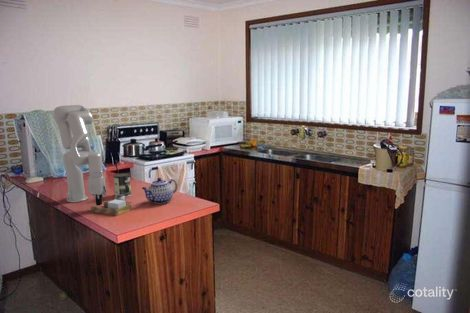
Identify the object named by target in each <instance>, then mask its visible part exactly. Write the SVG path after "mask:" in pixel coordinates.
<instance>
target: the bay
mask: <svg viewBox="0 0 470 313" xmlns="http://www.w3.org/2000/svg"><path fill="white" fill-rule="evenodd" d="M108 202H110V201H107V200H104V201H103V207H100V206H97V205H95V206H94V205H91V206H89V207H90V212H91V213H98V214H104V215H111V216H117V217H118V216H120V215H123V214H124V213H125V214H126V213H127V212H129V211H132V203H129V204H126V206H124V207H122V208H119V209H117V210H116V209H109V208H108Z"/></svg>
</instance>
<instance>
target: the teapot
mask: <svg viewBox="0 0 470 313" xmlns="http://www.w3.org/2000/svg"><path fill="white" fill-rule="evenodd" d="M172 182H173V183H174V189H173V186H172ZM141 189H142V190H143V191H144V193H145V194H144V195H145V198H146V199H147V201H149V202H153V203H154V204H158V205H159V204H160V205H161V204H162V203H163V204H167V203H169V202H170V201H171V200H172V198H173V196H174V194H175V193H176V192H177V189H178V182H177V181H176V180H175V179H173V178H171V179H169V181H168V180H166V179H162V177H157V179H156V180H153V181H151V184H150V185H149V187H148V188H147V187H146V186H143V187H141ZM166 202H167V203H166Z"/></svg>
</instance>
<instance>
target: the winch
mask: <svg viewBox="0 0 470 313" xmlns="http://www.w3.org/2000/svg"><path fill="white" fill-rule="evenodd" d="M115 199H116V200H123V201H126V204H132V202H131V201H127V200H126V197H125V196H124V195H123V196H121V197H117V196H114V200H115Z"/></svg>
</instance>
